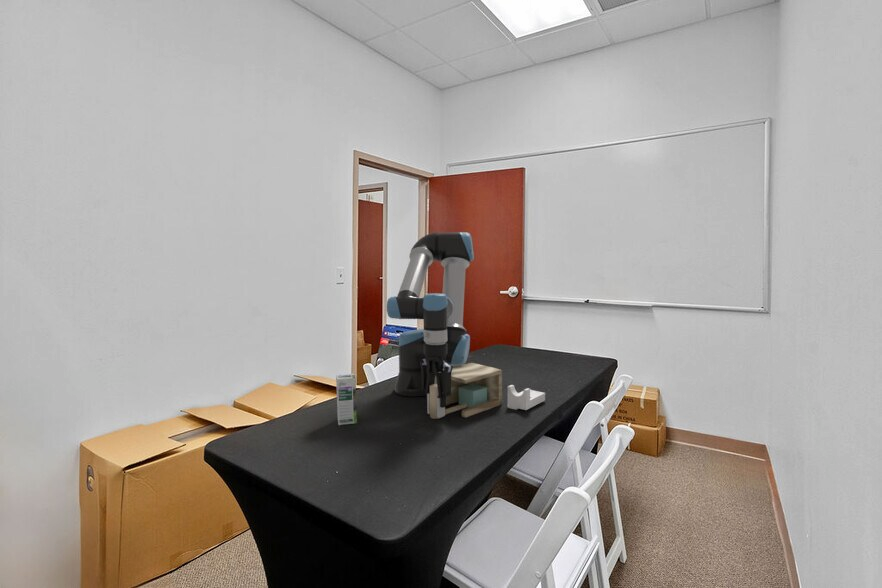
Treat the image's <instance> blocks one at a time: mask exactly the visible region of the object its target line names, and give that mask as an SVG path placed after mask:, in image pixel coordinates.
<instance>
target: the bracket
mask: <svg viewBox="0 0 882 588" xmlns="http://www.w3.org/2000/svg"><path fill="white" fill-rule="evenodd" d="M544 401H546V392H543V391H542V392H541V391H538V390H533V389H531V388H529V387H527V388H524V389H523V390H522V391H520V392H518V391H517V390H516V388H515V385H514V384H510V385H507V408H508V409H512V410H519V409H520V410H524V411H527V410H529V409H531V408H534V407H535V406H536V405H538V404H541V403H543V402H544Z"/></svg>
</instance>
